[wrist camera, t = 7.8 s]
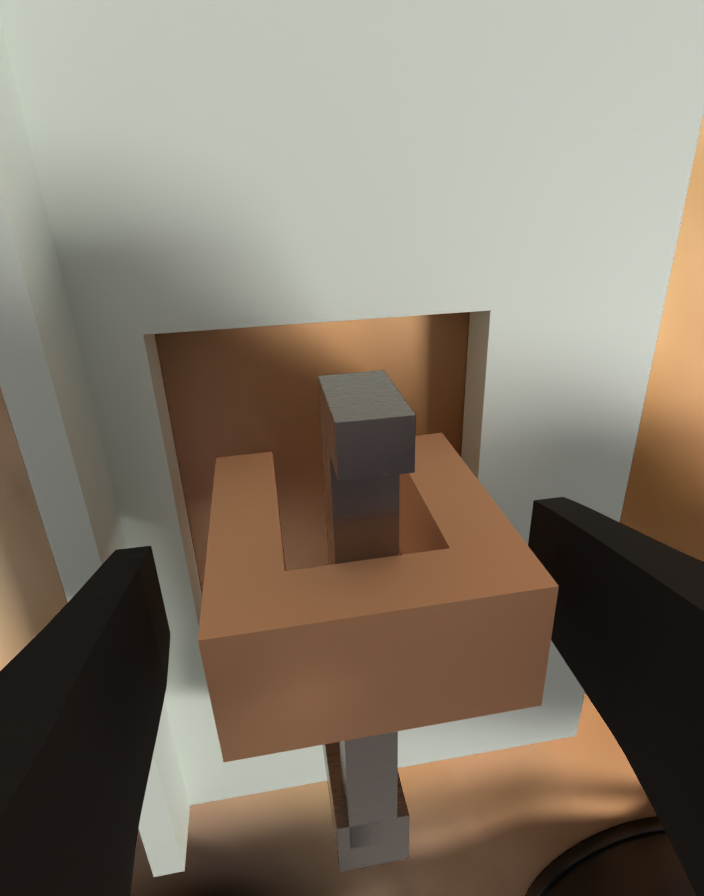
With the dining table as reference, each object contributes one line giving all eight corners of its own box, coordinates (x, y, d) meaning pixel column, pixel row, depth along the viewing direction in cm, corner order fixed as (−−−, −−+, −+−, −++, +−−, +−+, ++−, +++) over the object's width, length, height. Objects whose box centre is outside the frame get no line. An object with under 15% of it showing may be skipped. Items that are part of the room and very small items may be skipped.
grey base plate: (714, -176, 10) (883, -300, 7) (557, 705, 20) (606, 788, 17) (-91, -220, 8) (-248, -404, 6) (167, 772, 18) (153, 877, 15)
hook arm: (351, 307, 13) (435, 413, 7) (361, 665, 17) (418, 900, 12) (282, 311, 12) (314, 424, 7) (312, 672, 17) (346, 915, 12)
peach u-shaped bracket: (441, 432, 13) (558, 585, 8) (439, 522, 14) (541, 705, 9) (215, 457, 12) (197, 641, 7) (231, 549, 13) (223, 762, 9)
